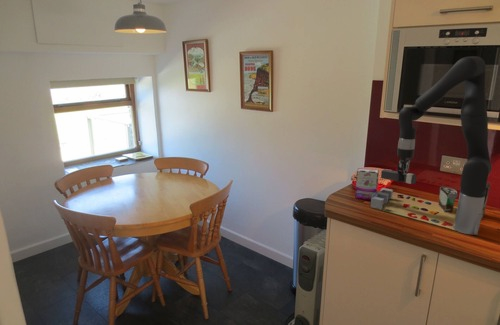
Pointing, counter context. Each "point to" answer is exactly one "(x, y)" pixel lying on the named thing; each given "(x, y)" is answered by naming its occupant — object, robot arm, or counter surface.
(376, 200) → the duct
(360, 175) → the candy bar box
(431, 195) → the counter surface
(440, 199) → the food container
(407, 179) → the dark grey bar
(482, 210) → the coffee box
